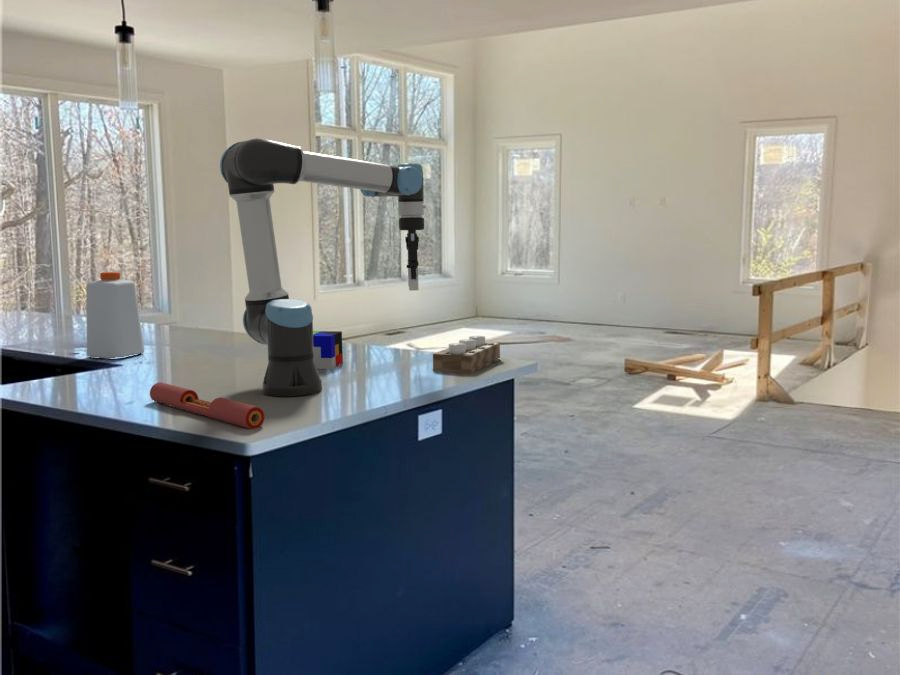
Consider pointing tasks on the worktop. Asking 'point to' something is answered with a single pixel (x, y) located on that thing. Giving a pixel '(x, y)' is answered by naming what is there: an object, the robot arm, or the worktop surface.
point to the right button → (478, 340)
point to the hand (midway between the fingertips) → (413, 288)
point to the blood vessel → (208, 405)
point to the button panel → (466, 359)
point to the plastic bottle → (112, 317)
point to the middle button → (469, 344)
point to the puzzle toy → (327, 349)
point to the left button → (457, 348)
